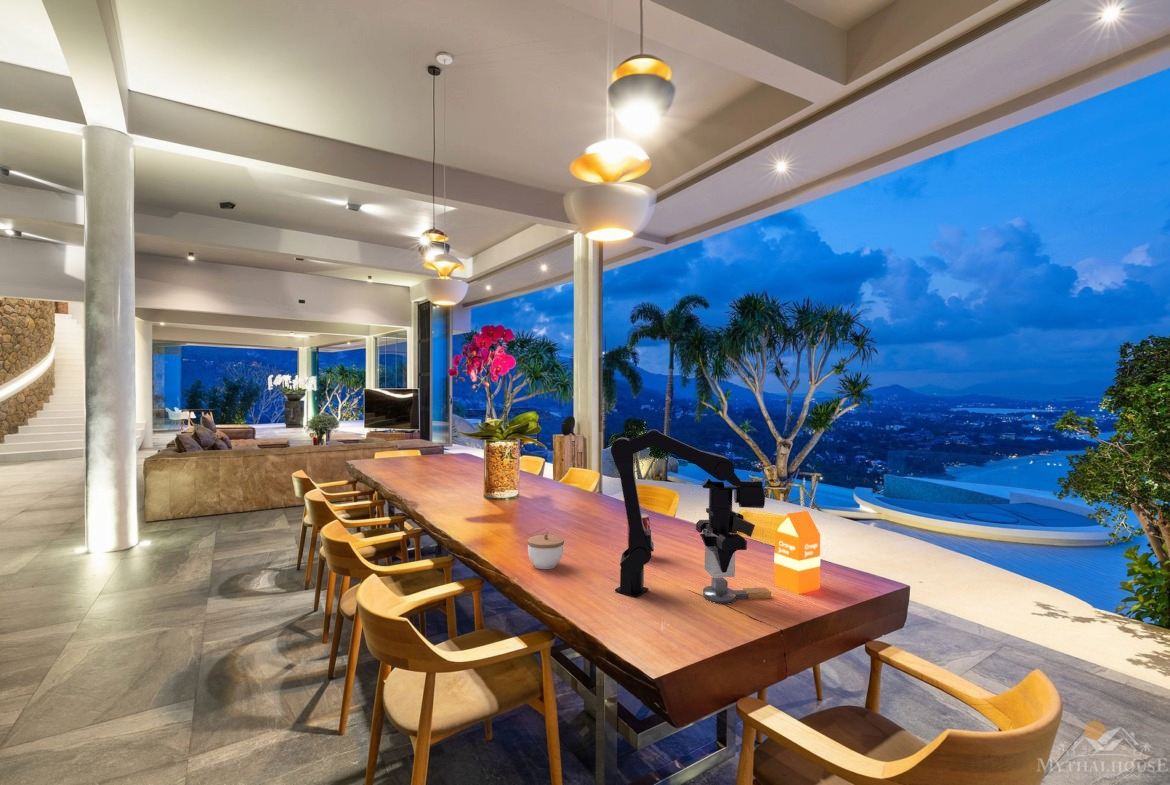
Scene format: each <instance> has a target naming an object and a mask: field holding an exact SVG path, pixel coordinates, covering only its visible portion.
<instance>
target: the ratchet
mask: <svg viewBox="0 0 1170 785" xmlns="http://www.w3.org/2000/svg"><path fill="white" fill-rule="evenodd" d="M728 584H729V583H728V580H727V579H725V577H711V585H708V586H705V587H704V588H703V589H702V597H703V598H705V599H704V600H706V601H707V600H708V601H707V602H710V601H711V602H710V603H713V602H715V603H714V604H718V603H719V604H720V603H721V604H720V605H729V604H728V603H731V604H734V603H735V602H736V601H737V600H761V599H772V591H770V589H768V588H767V587H743V589H739V590H737V589H732V588H730V587H729V586H728ZM733 602H734V603H733ZM719 604H718V605H719Z"/></svg>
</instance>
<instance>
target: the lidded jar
mask: <svg viewBox="0 0 1170 785" xmlns="http://www.w3.org/2000/svg"><path fill="white" fill-rule="evenodd" d="M564 544H565V540H564V538H563V537H561V536H558V535H555V534H548V533H544V534H537V535H533V536H531V537H529V538H527V554H528V558H529V561H530V562H531V563H532V564H533V565H534V568H536V569H539V570H552V569H555V568H556V566H557V565H558V564H559V563H560V562H561V559H562V557H563V554H564V546H565V545H564Z"/></svg>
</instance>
